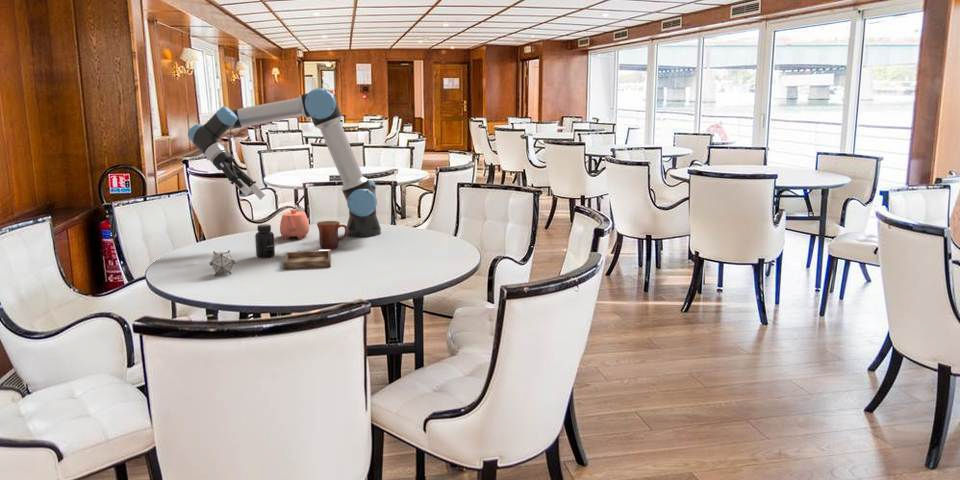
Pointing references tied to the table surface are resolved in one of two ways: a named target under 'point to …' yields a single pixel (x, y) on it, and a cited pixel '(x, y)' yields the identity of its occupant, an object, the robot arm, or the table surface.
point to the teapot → (294, 224)
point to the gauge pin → (315, 250)
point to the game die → (222, 262)
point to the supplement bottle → (264, 242)
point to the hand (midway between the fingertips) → (255, 195)
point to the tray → (307, 259)
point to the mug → (330, 234)
